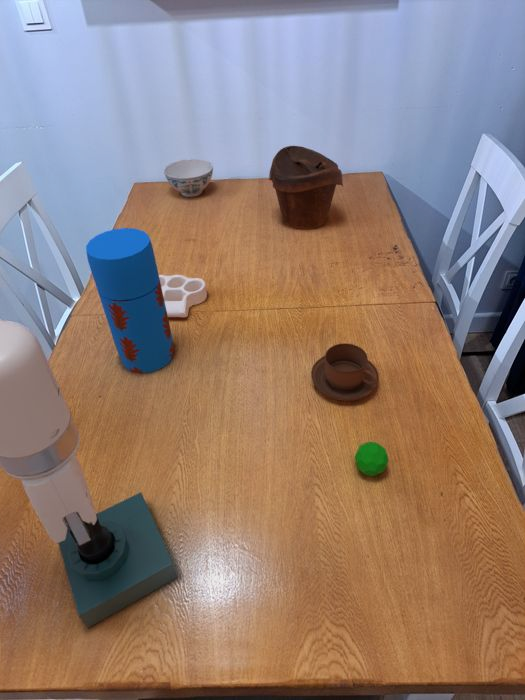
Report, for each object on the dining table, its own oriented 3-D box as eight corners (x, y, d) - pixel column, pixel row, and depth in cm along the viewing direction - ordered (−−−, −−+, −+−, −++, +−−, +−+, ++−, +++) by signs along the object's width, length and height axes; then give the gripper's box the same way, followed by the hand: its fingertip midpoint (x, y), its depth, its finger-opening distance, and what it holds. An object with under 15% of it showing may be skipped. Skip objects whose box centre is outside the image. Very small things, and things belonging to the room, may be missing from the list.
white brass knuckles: (119, 321, 106) (135, 283, 117) (201, 321, 105) (210, 282, 116) (115, 309, 104) (132, 271, 115) (199, 308, 103) (208, 270, 113)
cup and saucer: (382, 366, 92) (386, 342, 88) (370, 413, 84) (374, 388, 79) (320, 354, 95) (321, 329, 91) (303, 397, 87) (303, 372, 83)
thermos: (111, 369, 95) (72, 256, 78) (134, 334, 102) (103, 225, 86) (163, 377, 92) (134, 263, 76) (183, 340, 100) (161, 230, 84)
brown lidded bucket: (334, 238, 129) (338, 171, 117) (262, 230, 134) (258, 165, 122) (346, 209, 141) (351, 145, 129) (280, 202, 146) (279, 140, 135)
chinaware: (207, 204, 148) (203, 179, 143) (160, 201, 151) (156, 176, 146) (221, 183, 159) (219, 160, 154) (178, 181, 162) (174, 158, 157)
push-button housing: (88, 628, 60) (73, 609, 56) (65, 547, 68) (50, 525, 64) (178, 577, 64) (170, 555, 60) (146, 506, 72) (138, 483, 68)
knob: (86, 569, 60) (81, 562, 58) (78, 542, 62) (73, 535, 61) (118, 553, 61) (114, 545, 60) (108, 527, 64) (104, 519, 62)
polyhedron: (392, 468, 75) (397, 449, 72) (373, 487, 73) (376, 469, 70) (366, 449, 78) (369, 430, 75) (346, 467, 76) (349, 448, 72)
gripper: (-16, 403, 51) (43, 499, 63) (7, 517, 41) (72, 604, 53) (57, 376, 53) (100, 473, 66) (96, 477, 44) (138, 568, 56)
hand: (87, 531), depth 59 cm, fingers closed
